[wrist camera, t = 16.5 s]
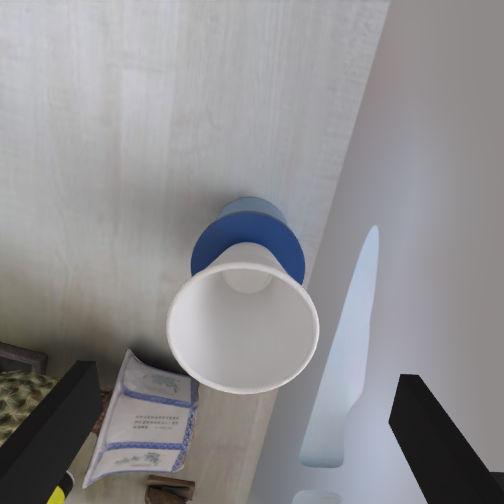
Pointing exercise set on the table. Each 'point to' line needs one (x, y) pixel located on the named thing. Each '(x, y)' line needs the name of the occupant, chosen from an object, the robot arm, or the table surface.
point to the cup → (242, 323)
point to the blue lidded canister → (250, 236)
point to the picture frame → (21, 360)
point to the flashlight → (62, 489)
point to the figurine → (168, 491)
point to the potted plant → (120, 417)
